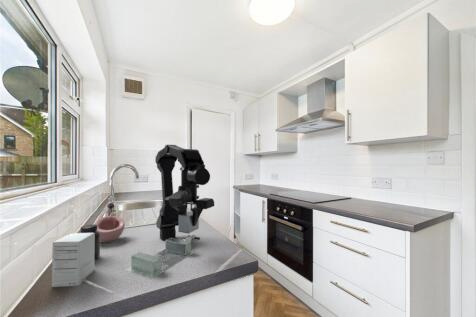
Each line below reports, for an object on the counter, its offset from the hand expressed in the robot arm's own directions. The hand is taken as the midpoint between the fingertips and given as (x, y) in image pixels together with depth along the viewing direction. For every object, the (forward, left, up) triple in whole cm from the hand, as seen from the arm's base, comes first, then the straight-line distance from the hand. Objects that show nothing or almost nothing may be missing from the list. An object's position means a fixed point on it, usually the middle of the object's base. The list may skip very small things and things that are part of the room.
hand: (188, 225), depth 74 cm
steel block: (0, 0, -2) cm, 2 cm away
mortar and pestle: (-43, -3, -12) cm, 44 cm away
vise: (-6, -7, -12) cm, 15 cm away
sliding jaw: (-6, +5, -11) cm, 13 cm away
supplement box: (-22, -26, -12) cm, 36 cm away
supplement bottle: (-32, -17, -12) cm, 38 cm away
